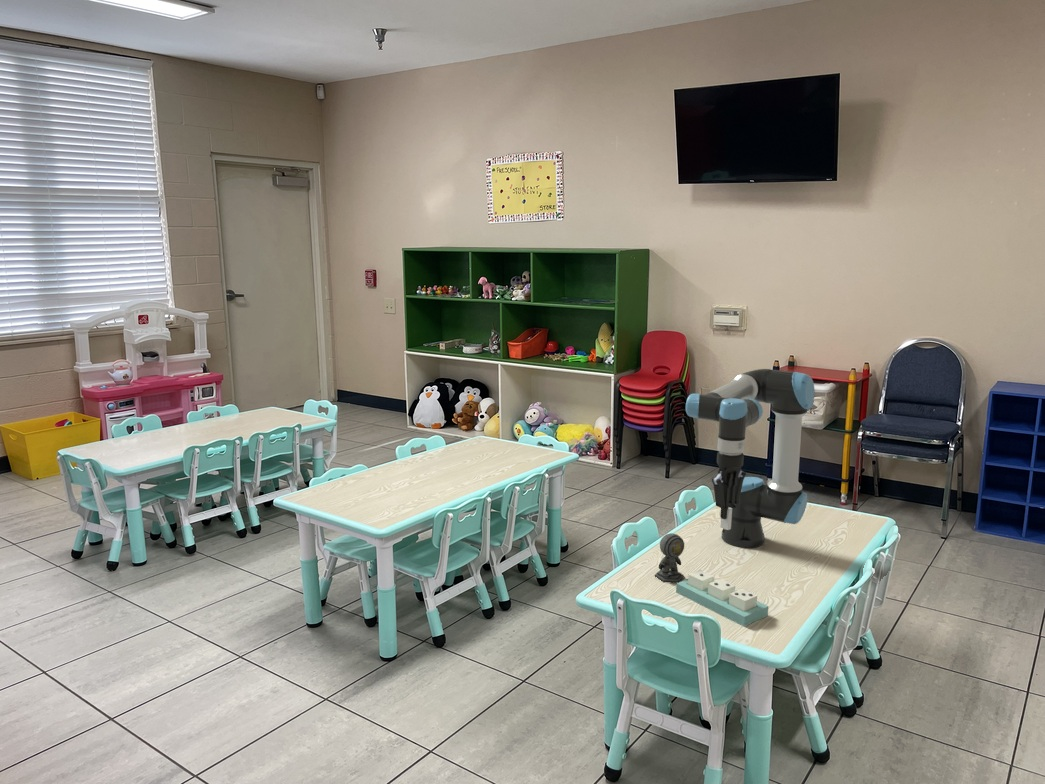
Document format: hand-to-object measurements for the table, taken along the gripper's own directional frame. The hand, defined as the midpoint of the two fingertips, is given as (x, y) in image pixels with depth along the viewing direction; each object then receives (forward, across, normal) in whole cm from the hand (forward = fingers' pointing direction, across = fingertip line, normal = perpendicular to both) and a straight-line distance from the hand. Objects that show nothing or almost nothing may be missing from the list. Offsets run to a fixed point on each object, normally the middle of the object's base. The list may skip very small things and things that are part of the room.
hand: (725, 528), depth 231 cm
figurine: (+25, +1, +22) cm, 33 cm away
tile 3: (+22, 0, -8) cm, 24 cm away
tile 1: (+22, 0, +8) cm, 24 cm away
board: (+24, 0, 0) cm, 24 cm away
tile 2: (+22, 0, 0) cm, 22 cm away
